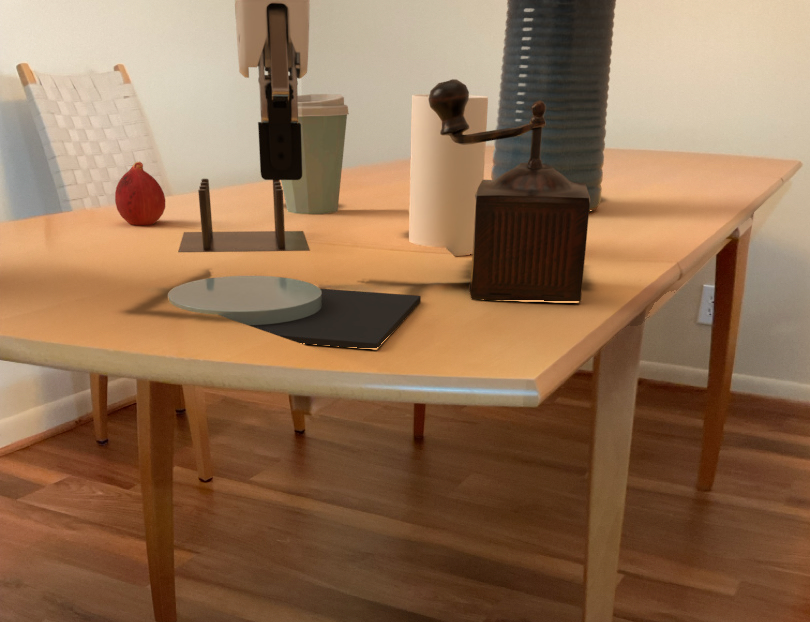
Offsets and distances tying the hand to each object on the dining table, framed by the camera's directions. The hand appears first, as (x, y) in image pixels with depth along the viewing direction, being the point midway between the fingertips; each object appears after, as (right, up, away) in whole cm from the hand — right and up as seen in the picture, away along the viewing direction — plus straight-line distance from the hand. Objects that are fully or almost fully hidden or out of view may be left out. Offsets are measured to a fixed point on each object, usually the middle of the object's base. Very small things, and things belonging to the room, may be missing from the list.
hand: (281, 178), depth 72 cm
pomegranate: (-22, +9, +40) cm, 47 cm away
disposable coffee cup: (-3, +15, +52) cm, 54 cm away
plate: (0, -10, +2) cm, 10 cm away
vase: (+30, +21, +64) cm, 74 cm away
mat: (0, -9, +7) cm, 11 cm away
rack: (-8, +4, +32) cm, 33 cm away
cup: (+14, +5, +34) cm, 37 cm away
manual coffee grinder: (+19, -4, +17) cm, 26 cm away
